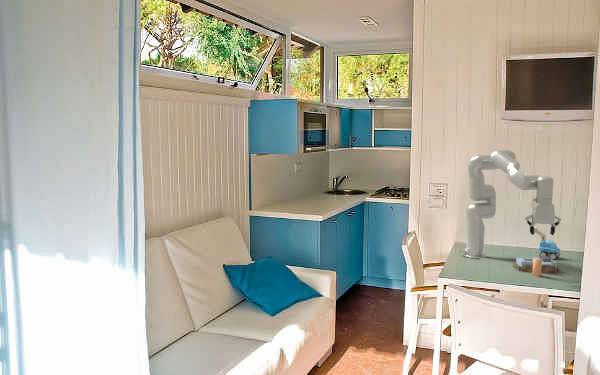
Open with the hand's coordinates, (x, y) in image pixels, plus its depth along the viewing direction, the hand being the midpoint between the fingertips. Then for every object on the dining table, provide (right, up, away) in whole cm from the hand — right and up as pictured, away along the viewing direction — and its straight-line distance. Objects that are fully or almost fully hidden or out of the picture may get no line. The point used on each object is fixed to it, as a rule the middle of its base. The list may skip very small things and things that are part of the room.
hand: (542, 234), depth 274 cm
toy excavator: (+21, -18, +44) cm, 52 cm away
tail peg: (-4, -22, -2) cm, 23 cm away
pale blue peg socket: (+1, -19, +10) cm, 22 cm away
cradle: (+1, -21, +10) cm, 23 cm away
